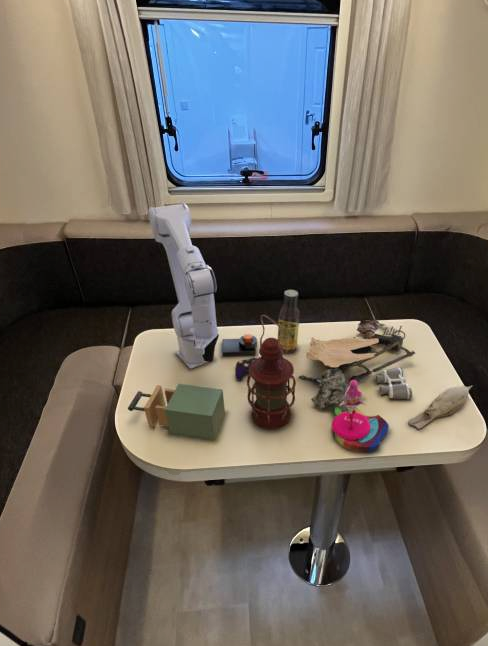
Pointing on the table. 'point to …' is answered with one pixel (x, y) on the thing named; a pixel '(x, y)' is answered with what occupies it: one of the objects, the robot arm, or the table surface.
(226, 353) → the button box
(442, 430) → the table surface
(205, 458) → the table surface
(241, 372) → the gaming controller
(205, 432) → the cabinet
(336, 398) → the rock
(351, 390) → the figurine
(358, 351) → the phone
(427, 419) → the sculpture
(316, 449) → the table surface
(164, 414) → the drawer
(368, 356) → the tan craggy stone
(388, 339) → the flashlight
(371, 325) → the oyster
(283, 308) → the sauce bottle
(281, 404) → the lantern
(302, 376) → the knife
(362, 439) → the decorative object
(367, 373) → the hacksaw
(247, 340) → the button
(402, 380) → the binoculars
